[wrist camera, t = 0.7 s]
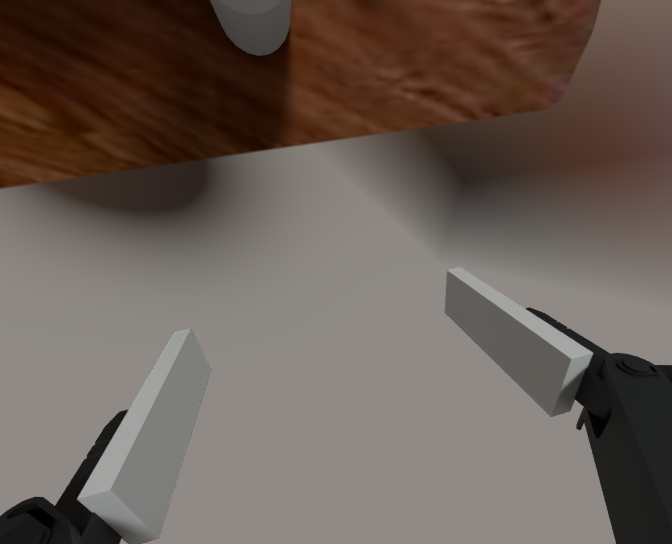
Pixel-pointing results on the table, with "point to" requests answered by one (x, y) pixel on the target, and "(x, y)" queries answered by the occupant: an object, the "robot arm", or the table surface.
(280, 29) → the can
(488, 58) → the table surface
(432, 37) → the table surface
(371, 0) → the table surface
